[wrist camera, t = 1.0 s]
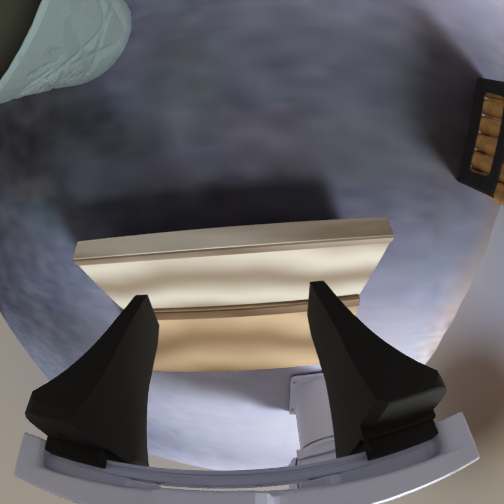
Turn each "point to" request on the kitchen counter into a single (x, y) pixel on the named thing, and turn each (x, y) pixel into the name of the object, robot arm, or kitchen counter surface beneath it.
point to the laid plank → (237, 336)
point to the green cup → (58, 43)
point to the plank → (237, 262)
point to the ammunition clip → (486, 142)
